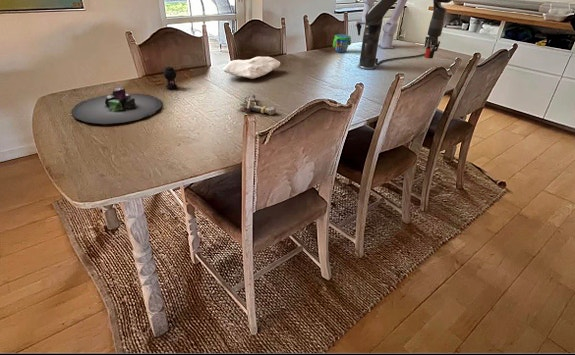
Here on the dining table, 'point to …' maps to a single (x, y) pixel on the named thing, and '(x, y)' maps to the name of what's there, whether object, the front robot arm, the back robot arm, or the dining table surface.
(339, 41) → the snack cup
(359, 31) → the back robot arm
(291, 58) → the dining table surface
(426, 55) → the red cube
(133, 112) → the dark grey serving platter
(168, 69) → the gumball machine
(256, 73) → the crumpled cloth
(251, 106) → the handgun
